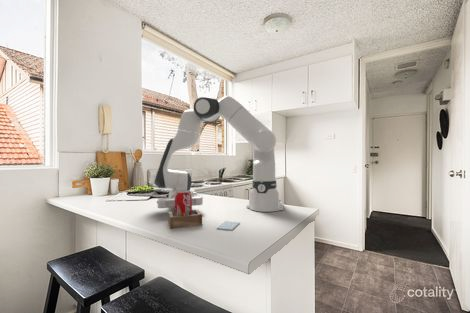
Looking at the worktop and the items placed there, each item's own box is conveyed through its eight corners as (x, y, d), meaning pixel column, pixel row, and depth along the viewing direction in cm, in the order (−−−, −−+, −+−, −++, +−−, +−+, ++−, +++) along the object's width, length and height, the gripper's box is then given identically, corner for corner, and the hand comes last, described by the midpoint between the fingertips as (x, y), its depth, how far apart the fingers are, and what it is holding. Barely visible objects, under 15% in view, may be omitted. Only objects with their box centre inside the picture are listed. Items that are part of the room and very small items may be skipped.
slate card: (225, 223, 90) (225, 221, 90) (239, 224, 88) (239, 222, 88) (216, 230, 82) (216, 227, 82) (232, 232, 80) (232, 229, 80)
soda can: (180, 223, 90) (179, 193, 90) (171, 219, 95) (171, 191, 95) (195, 219, 95) (194, 191, 95) (186, 216, 100) (186, 189, 100)
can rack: (168, 221, 92) (168, 212, 92) (197, 218, 96) (197, 209, 96) (170, 228, 83) (170, 217, 83) (202, 224, 87) (202, 214, 87)
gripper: (156, 194, 107) (156, 199, 94) (199, 191, 114) (205, 196, 101) (156, 207, 107) (156, 214, 94) (199, 204, 114) (205, 210, 101)
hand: (182, 205), depth 97 cm, fingers closed, pressing on soda can
